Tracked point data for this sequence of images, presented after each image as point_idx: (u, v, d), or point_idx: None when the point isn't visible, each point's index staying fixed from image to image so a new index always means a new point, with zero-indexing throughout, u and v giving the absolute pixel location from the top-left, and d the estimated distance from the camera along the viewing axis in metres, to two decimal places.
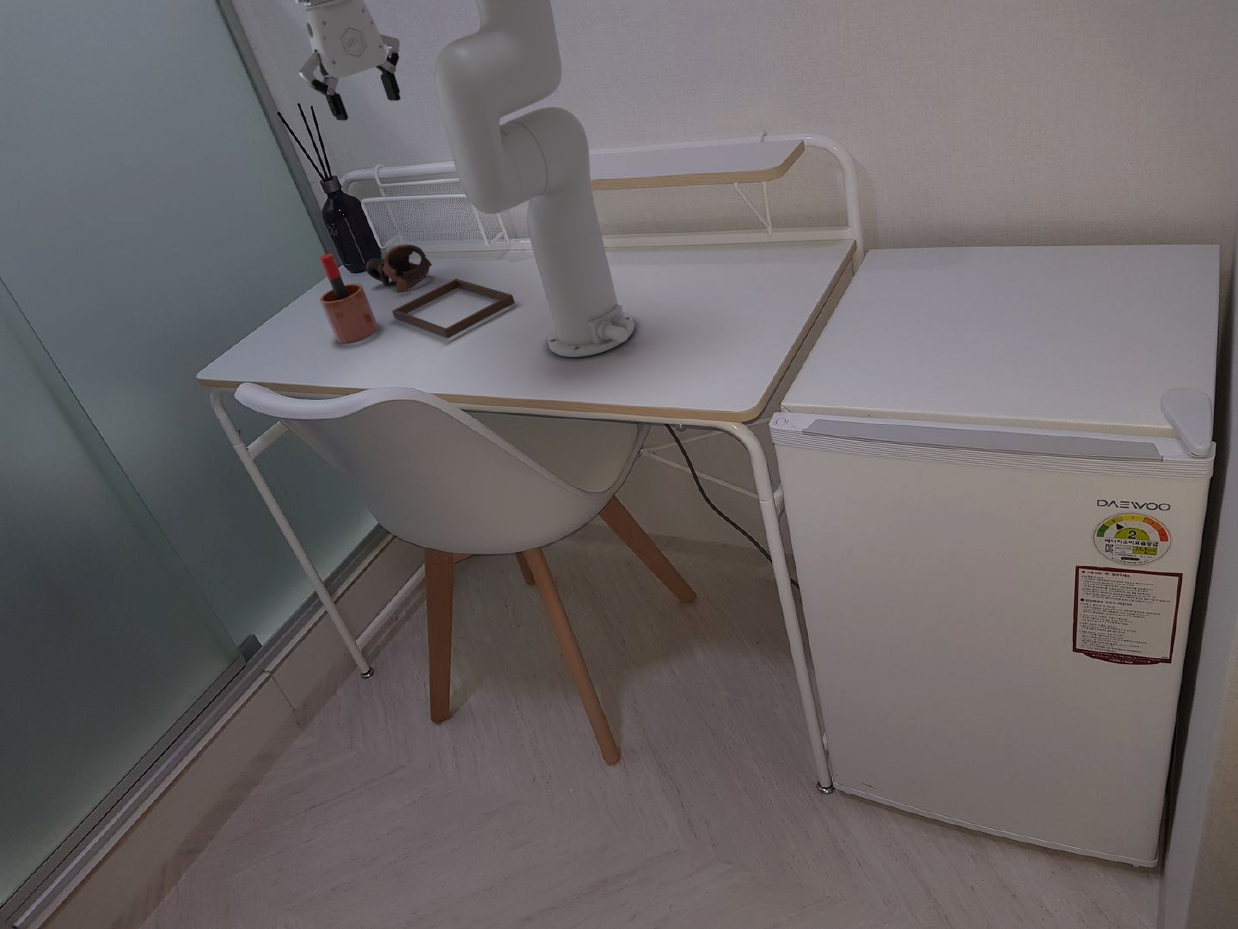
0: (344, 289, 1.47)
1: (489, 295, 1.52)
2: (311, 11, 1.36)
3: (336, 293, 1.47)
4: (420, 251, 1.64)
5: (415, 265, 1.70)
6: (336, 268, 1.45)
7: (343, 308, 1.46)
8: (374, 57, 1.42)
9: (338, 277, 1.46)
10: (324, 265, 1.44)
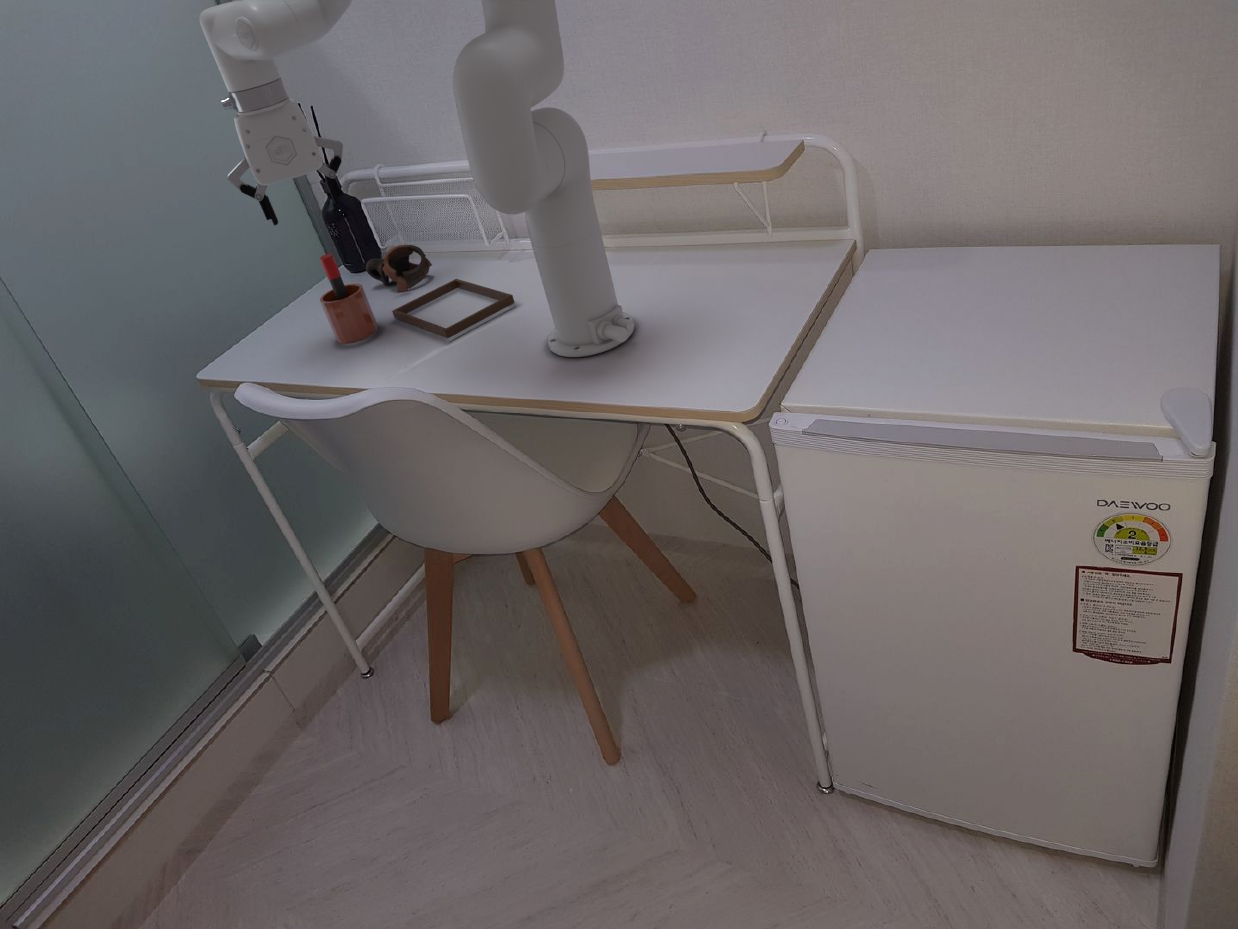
0: (344, 289, 1.47)
1: (489, 295, 1.52)
2: (235, 119, 1.30)
3: (336, 293, 1.47)
4: (420, 251, 1.64)
5: (415, 265, 1.70)
6: (336, 268, 1.45)
7: (343, 308, 1.46)
8: (306, 165, 1.35)
9: (338, 277, 1.46)
10: (324, 265, 1.44)
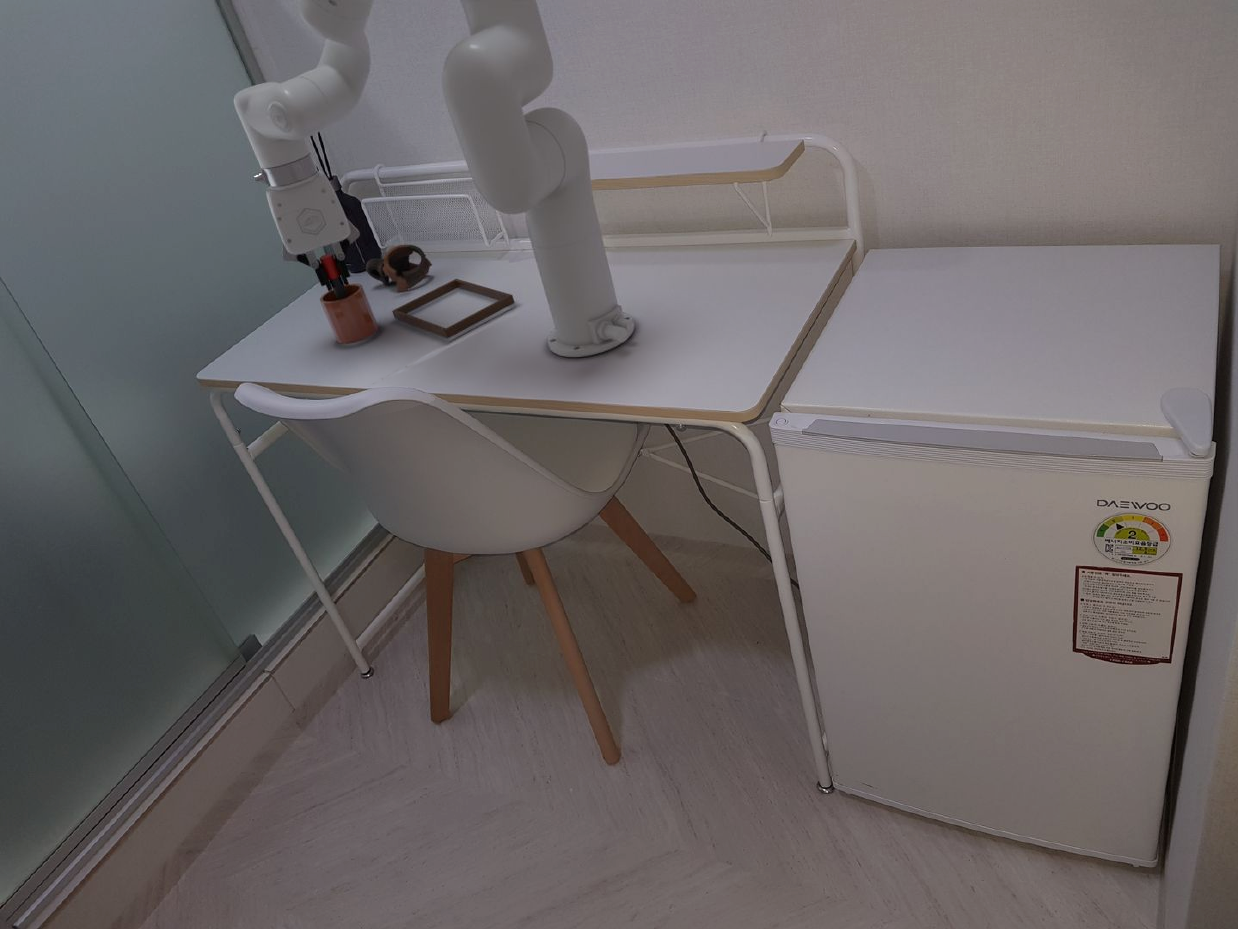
0: (344, 289, 1.47)
1: (489, 295, 1.52)
2: (268, 193, 1.36)
3: (336, 293, 1.47)
4: (420, 251, 1.64)
5: (415, 265, 1.70)
6: (336, 268, 1.45)
7: (343, 308, 1.46)
8: (334, 234, 1.41)
9: (338, 277, 1.46)
10: (324, 265, 1.44)
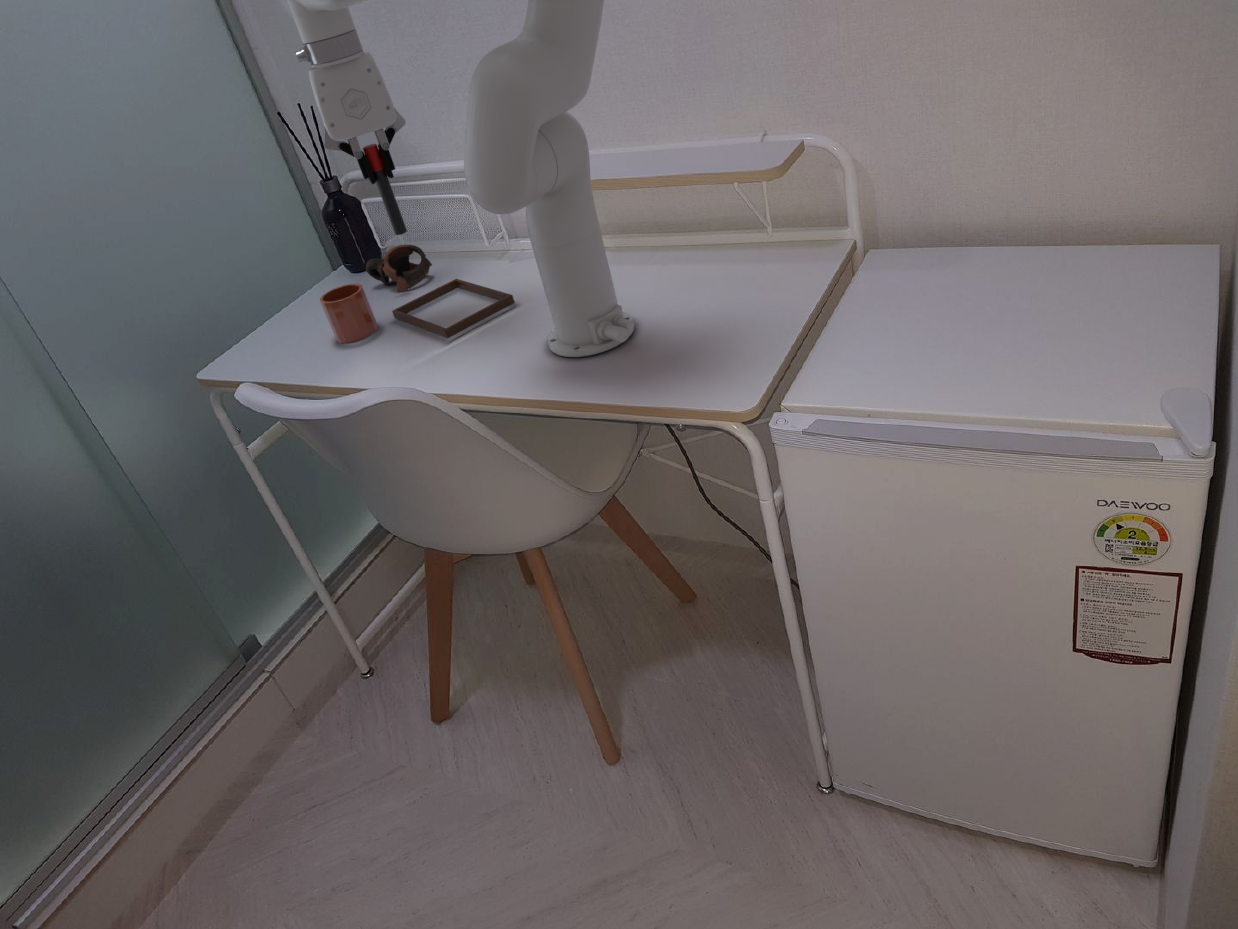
0: (388, 183, 1.39)
1: (489, 295, 1.52)
2: (310, 71, 1.27)
3: (380, 187, 1.39)
4: (420, 251, 1.64)
5: (415, 265, 1.70)
6: (380, 159, 1.37)
7: (343, 308, 1.46)
8: (380, 119, 1.32)
9: (382, 169, 1.37)
10: (368, 155, 1.36)
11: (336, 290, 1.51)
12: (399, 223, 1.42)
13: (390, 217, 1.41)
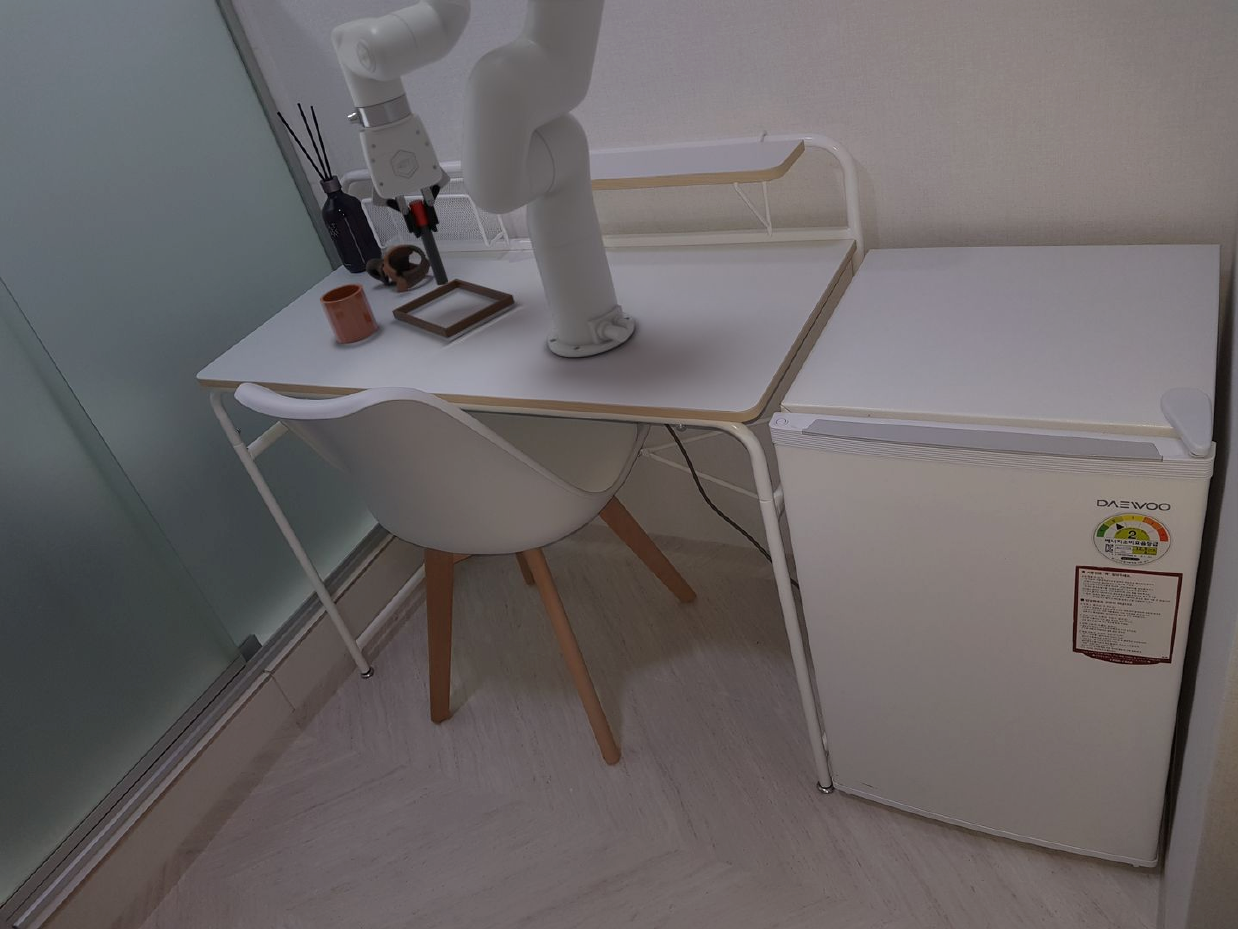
0: (432, 236, 1.44)
1: (489, 295, 1.52)
2: (362, 134, 1.32)
3: (424, 240, 1.44)
4: (420, 251, 1.64)
5: (415, 265, 1.70)
6: (425, 214, 1.42)
7: (343, 308, 1.46)
8: (426, 178, 1.37)
9: (426, 224, 1.42)
10: (413, 211, 1.41)
11: (336, 290, 1.51)
12: (441, 274, 1.47)
13: (433, 268, 1.46)
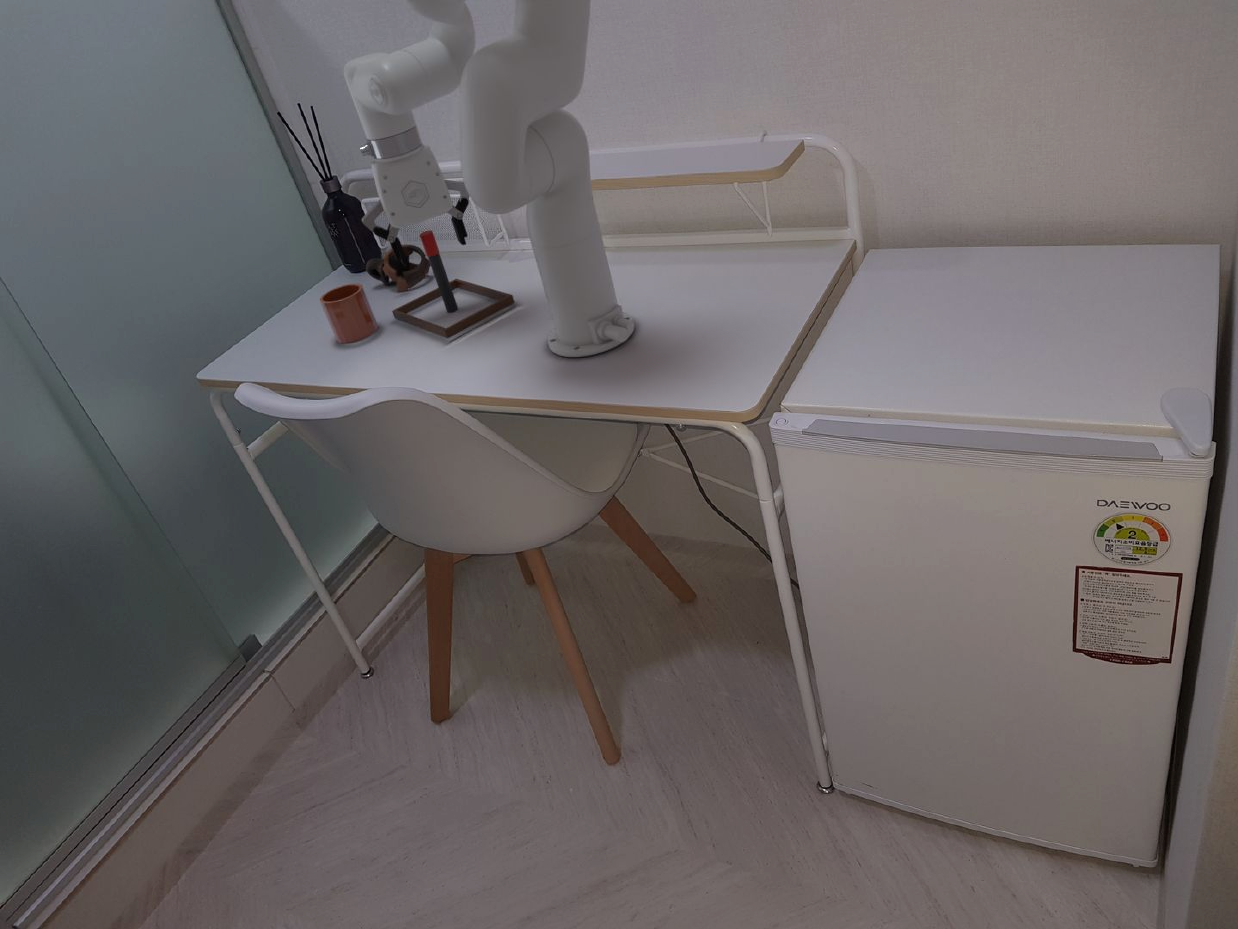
0: (442, 266, 1.46)
1: (489, 295, 1.52)
2: (373, 165, 1.35)
3: (434, 270, 1.46)
4: (420, 251, 1.64)
5: (415, 265, 1.70)
6: (435, 245, 1.45)
7: (343, 308, 1.46)
8: (437, 207, 1.40)
9: (437, 254, 1.45)
10: (424, 242, 1.44)
11: (336, 290, 1.51)
12: (451, 303, 1.49)
13: (443, 297, 1.49)
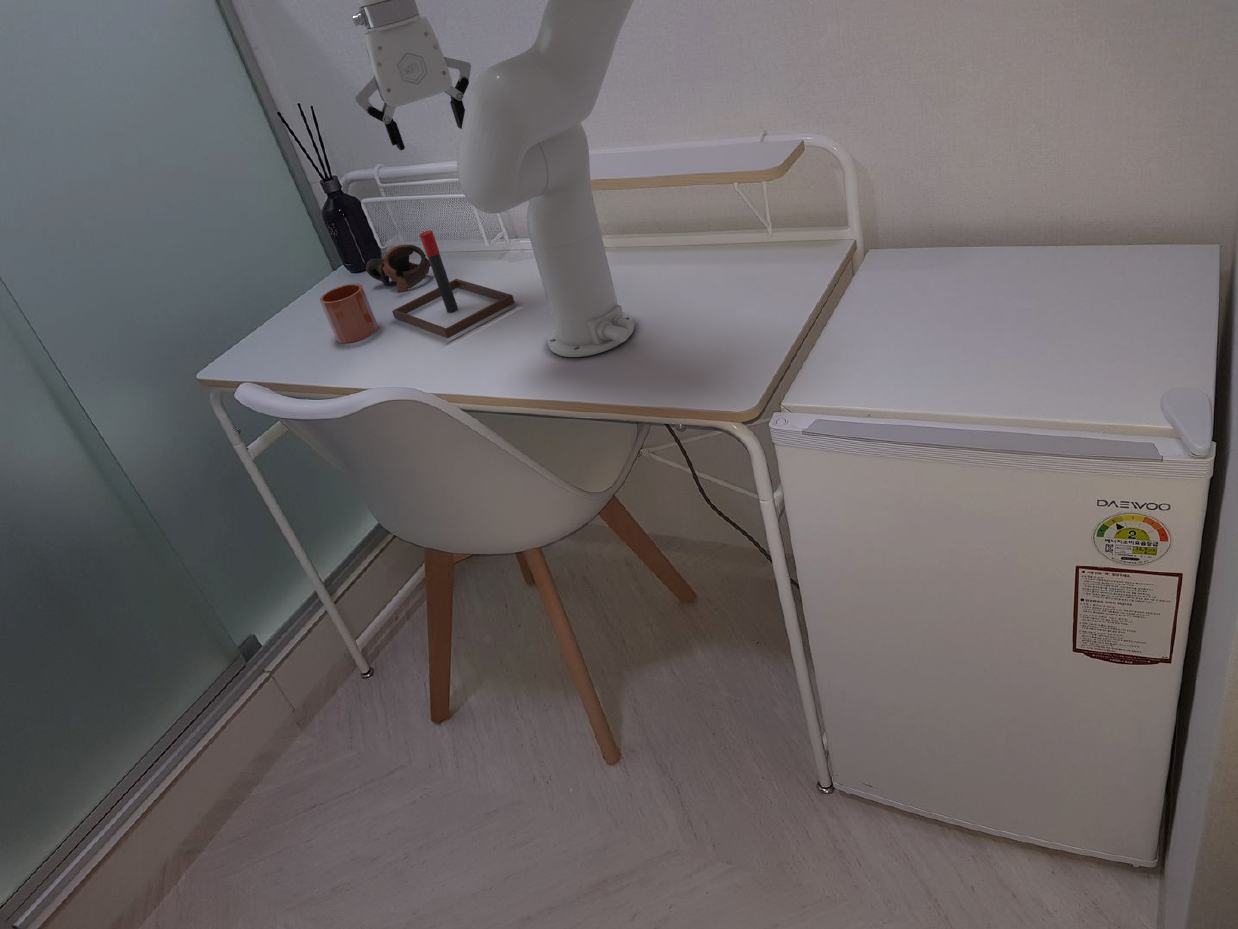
0: (442, 266, 1.46)
1: (489, 295, 1.52)
2: (367, 35, 1.26)
3: (434, 270, 1.46)
4: (420, 251, 1.64)
5: (415, 265, 1.70)
6: (435, 245, 1.45)
7: (343, 308, 1.46)
8: (436, 84, 1.31)
9: (437, 254, 1.45)
10: (424, 242, 1.44)
11: (336, 290, 1.51)
12: (451, 303, 1.49)
13: (443, 297, 1.49)
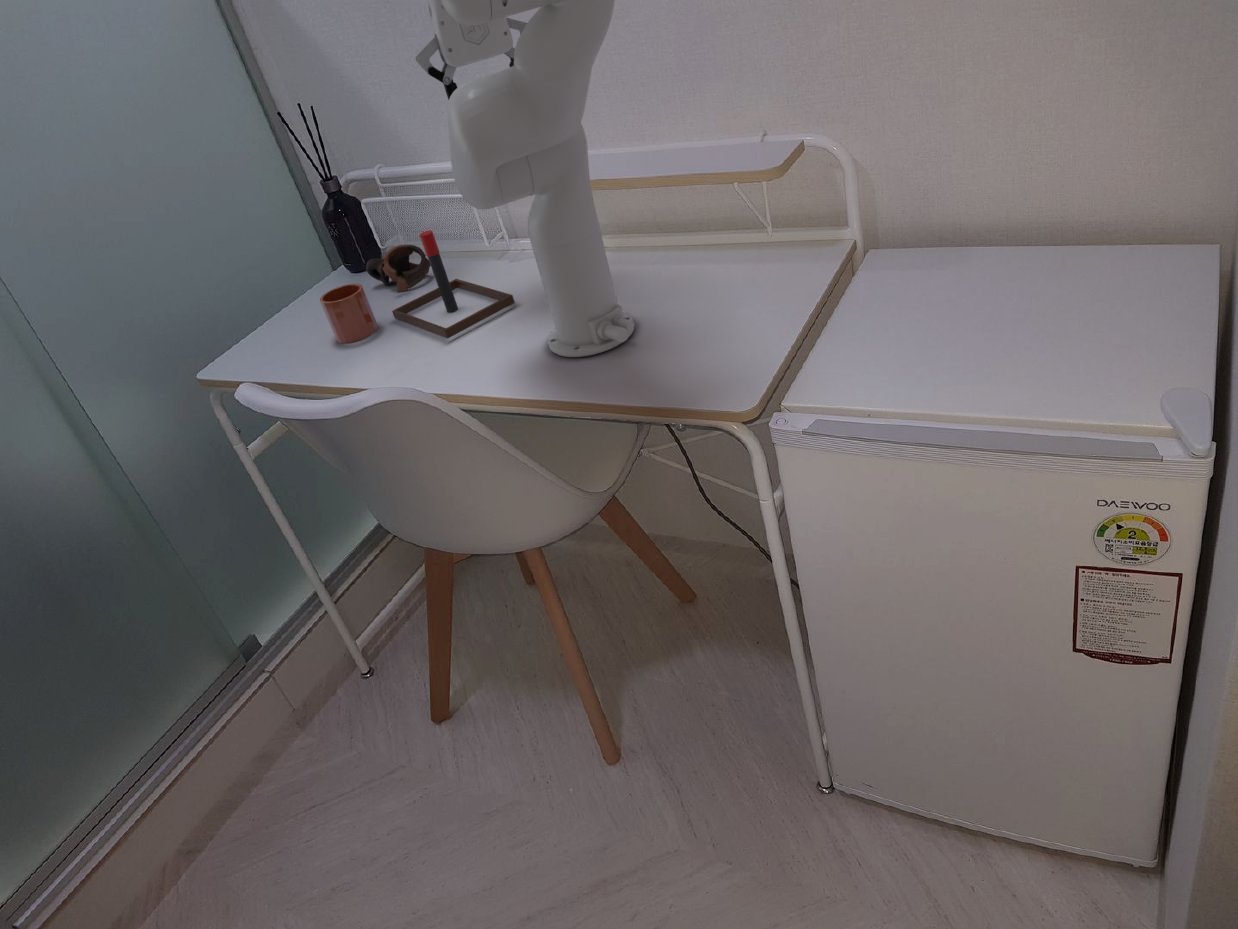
0: (442, 266, 1.46)
1: (489, 295, 1.52)
2: None
3: (434, 270, 1.46)
4: (420, 251, 1.64)
5: (415, 265, 1.70)
6: (435, 245, 1.45)
7: (343, 308, 1.46)
8: (497, 45, 1.30)
9: (437, 254, 1.45)
10: (424, 242, 1.44)
11: (336, 290, 1.51)
12: (451, 303, 1.49)
13: (443, 297, 1.49)
